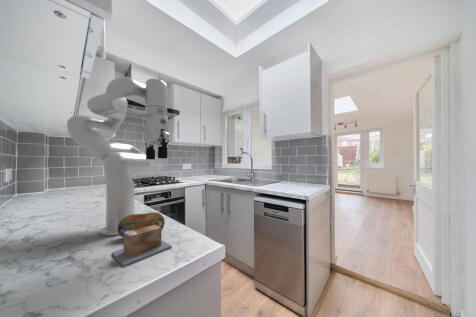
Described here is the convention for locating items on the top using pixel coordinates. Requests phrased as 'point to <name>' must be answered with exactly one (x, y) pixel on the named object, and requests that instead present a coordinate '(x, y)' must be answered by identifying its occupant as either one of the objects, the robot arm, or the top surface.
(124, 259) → the mat
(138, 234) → the card box
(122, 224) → the tin
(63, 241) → the top surface
